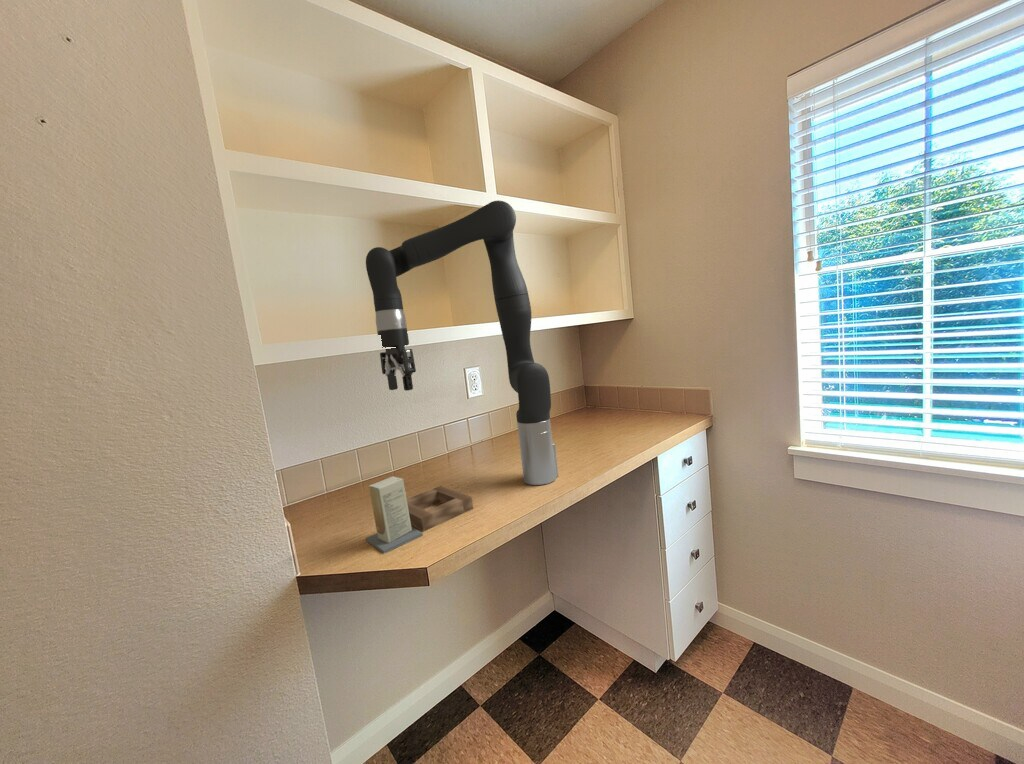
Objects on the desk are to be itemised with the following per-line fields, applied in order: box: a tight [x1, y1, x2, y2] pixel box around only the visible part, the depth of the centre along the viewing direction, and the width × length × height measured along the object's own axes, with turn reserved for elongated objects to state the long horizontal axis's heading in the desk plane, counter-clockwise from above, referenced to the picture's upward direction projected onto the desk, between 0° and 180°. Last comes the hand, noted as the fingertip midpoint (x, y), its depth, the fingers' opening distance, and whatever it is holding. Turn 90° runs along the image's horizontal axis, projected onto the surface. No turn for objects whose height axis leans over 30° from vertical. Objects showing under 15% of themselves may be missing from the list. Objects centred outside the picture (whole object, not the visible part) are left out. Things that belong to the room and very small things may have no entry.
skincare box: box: [368, 475, 412, 543], centre depth 87 cm, size 6×4×12 cm
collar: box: [407, 485, 474, 532], centre depth 99 cm, size 14×14×3 cm
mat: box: [365, 526, 424, 554], centre depth 88 cm, size 9×9×1 cm
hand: (400, 389), depth 106 cm, fingers open, 8 cm apart
